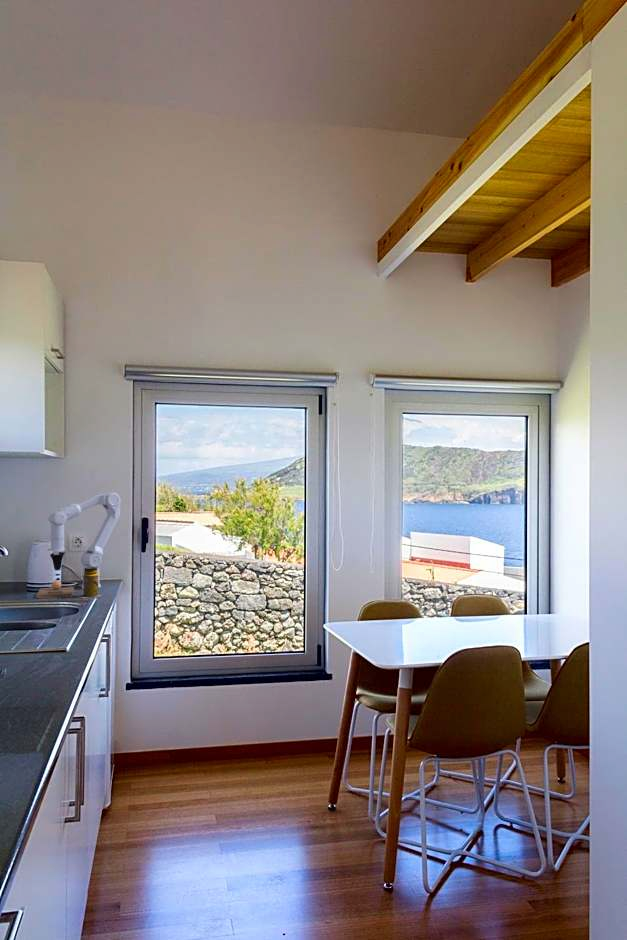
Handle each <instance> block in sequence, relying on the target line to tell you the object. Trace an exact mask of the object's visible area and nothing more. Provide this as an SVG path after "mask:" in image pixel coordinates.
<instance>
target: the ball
mask: <svg viewBox="0 0 627 940" xmlns="http://www.w3.org/2000/svg"><path fill="white" fill-rule="evenodd" d="M51 588H53V589H55V590H57V589H60V588H62V582H61V580H57V579H55V580H53V581H52V582H51Z"/></svg>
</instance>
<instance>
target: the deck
mask: <svg viewBox="0 0 627 940" xmlns="http://www.w3.org/2000/svg"><path fill="white" fill-rule="evenodd" d="M74 592H75V587H71V586H70V587H69V586H68V587H60V589H57V590H55V589H53V588H52V587H45V588H40V589H39V590H38V592H37V593H36V595H35V599H36V598H42V599H62V598H63V599H64V598H66V599H67V598H68V599H69V598H72V596H73V594H74Z"/></svg>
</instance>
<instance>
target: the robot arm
mask: <svg viewBox="0 0 627 940" xmlns="http://www.w3.org/2000/svg"><path fill="white" fill-rule="evenodd" d="M121 504H122V499H121V497H120V495H119V493H117V492H108V491H107V492H106V491H105V492H102V493H99V494H96V495H94V496H92V497H91V498H88V499H86V500H85V501H83V502H80V503H79V504H77V503H71V502H69V503H68V505H66V506H65V507H63V508H61V507H60V508H58V510H57V511H56V510H55V511H54V510H53V511H52V512H51V513H50V514H49V517H48V518H47V519H48V521H49V523H50V548H48V549H47V551H49V552H52V553H50V554H49V555H50V558H51V560H52V564H53V569H54V571H60V570H61V569H62V564H63V558H64V556H65V550H66V547H65V523H66V522H67V521H69V520H72V519H73V518H76V517H79V516H80V515H81V512H83V511H84V510H87V509H90V508H92V507H94V506H97V505H102V507H103V508H104V509H105V511H106V517H105V519H104V521H103V523H102V524H101V526H100V528H99V530H98V532H97V533H96V534H97V535H96V536H95V538H94V540H93V542H92V544H91V545H90V546H89V547H88V548H87V550H86V551H85V552H84V553H83V554H82V555H81V556H80V557H81V558H80V561H81V563H82V565H83V566H82V577H83V576H84V574H85V573H84V571H85V570H84V569H85V568H87V567H96V568H97V574H98V589H101V586H102V585H101V583H100V581H101V580H100V576H101V575H100V571H101V570H100V566H101V564H102V560H103V559H102V558H103V555H104V552H103V551H104V548H105V546H106V544H107V542H108V540H109V538H110V536H111V535H112V532H113V530H114V528H115V527H116V524H117V522H118V520H119V518H120V516H121ZM83 580H84V579H83V578H82V585H81V589H82V590H84V583H83V582H84V581H83Z"/></svg>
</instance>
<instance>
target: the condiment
mask: <svg viewBox="0 0 627 940" xmlns="http://www.w3.org/2000/svg"><path fill="white" fill-rule="evenodd" d="M84 570H85V571H84V573H85V574H84V576H83V575H82V584H83V583H84V589H83V594H81V595H80V594H78V595H77V594H76V595H75V597H78V598H80V599H87V598H96V597H97V598H98V597H102V595H100V594H99V588H98V574H97V568H96V567H87V568H85V569H84ZM83 579H84V580H83ZM83 581H84V582H83Z"/></svg>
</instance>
